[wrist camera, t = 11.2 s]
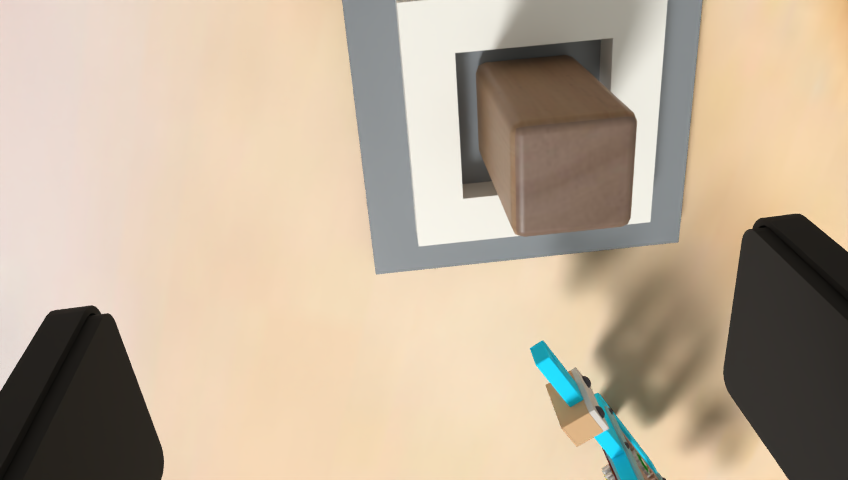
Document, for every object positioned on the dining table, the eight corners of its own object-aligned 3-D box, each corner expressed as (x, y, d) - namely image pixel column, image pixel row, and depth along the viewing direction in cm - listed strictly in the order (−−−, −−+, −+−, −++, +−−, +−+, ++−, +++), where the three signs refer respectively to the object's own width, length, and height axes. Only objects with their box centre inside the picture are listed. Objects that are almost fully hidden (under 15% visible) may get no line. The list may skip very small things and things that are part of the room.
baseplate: (336, -59, 27) (334, -52, 25) (700, -92, 28) (729, -88, 26) (375, 263, 34) (376, 291, 32) (670, 232, 34) (691, 257, 32)
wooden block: (571, 145, 31) (634, 230, 24) (477, 155, 31) (513, 242, 24) (573, 51, 29) (642, 112, 22) (474, 60, 29) (511, 125, 22)
